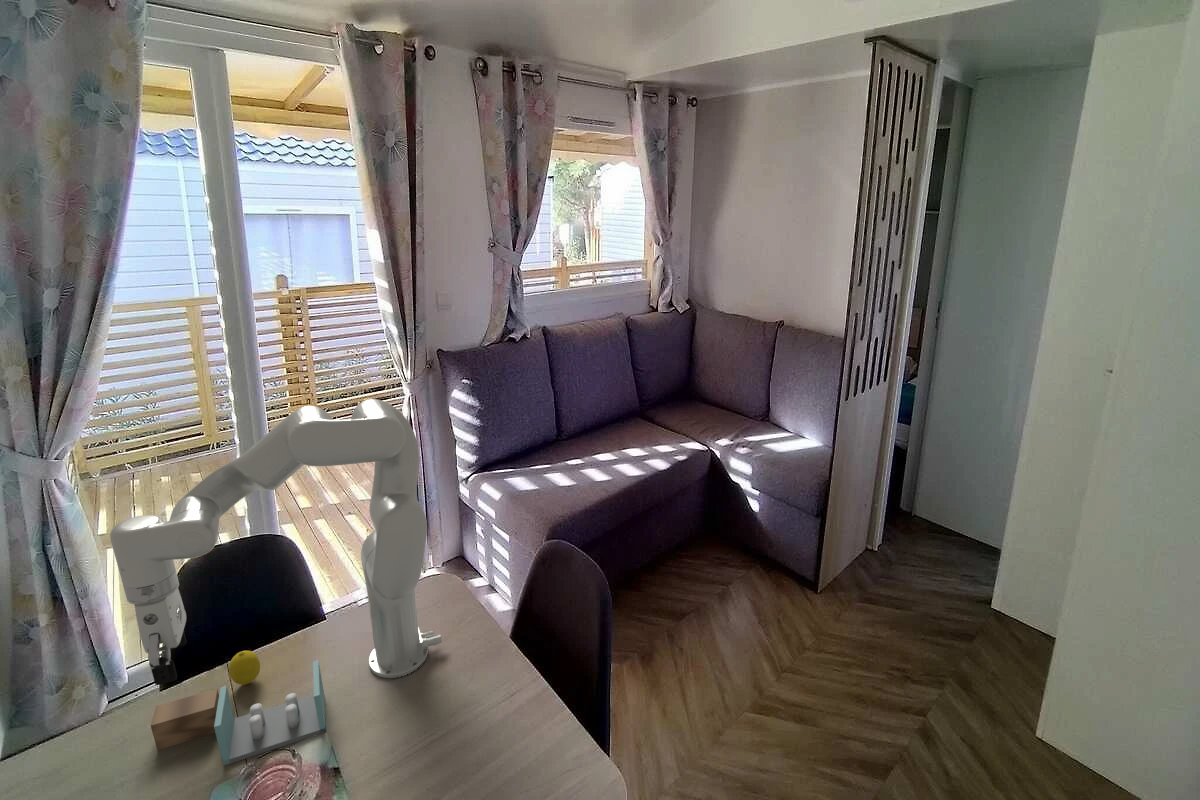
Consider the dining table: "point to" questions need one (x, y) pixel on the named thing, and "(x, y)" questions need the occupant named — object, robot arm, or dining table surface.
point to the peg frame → (269, 723)
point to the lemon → (244, 667)
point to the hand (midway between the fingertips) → (171, 663)
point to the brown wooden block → (184, 719)
